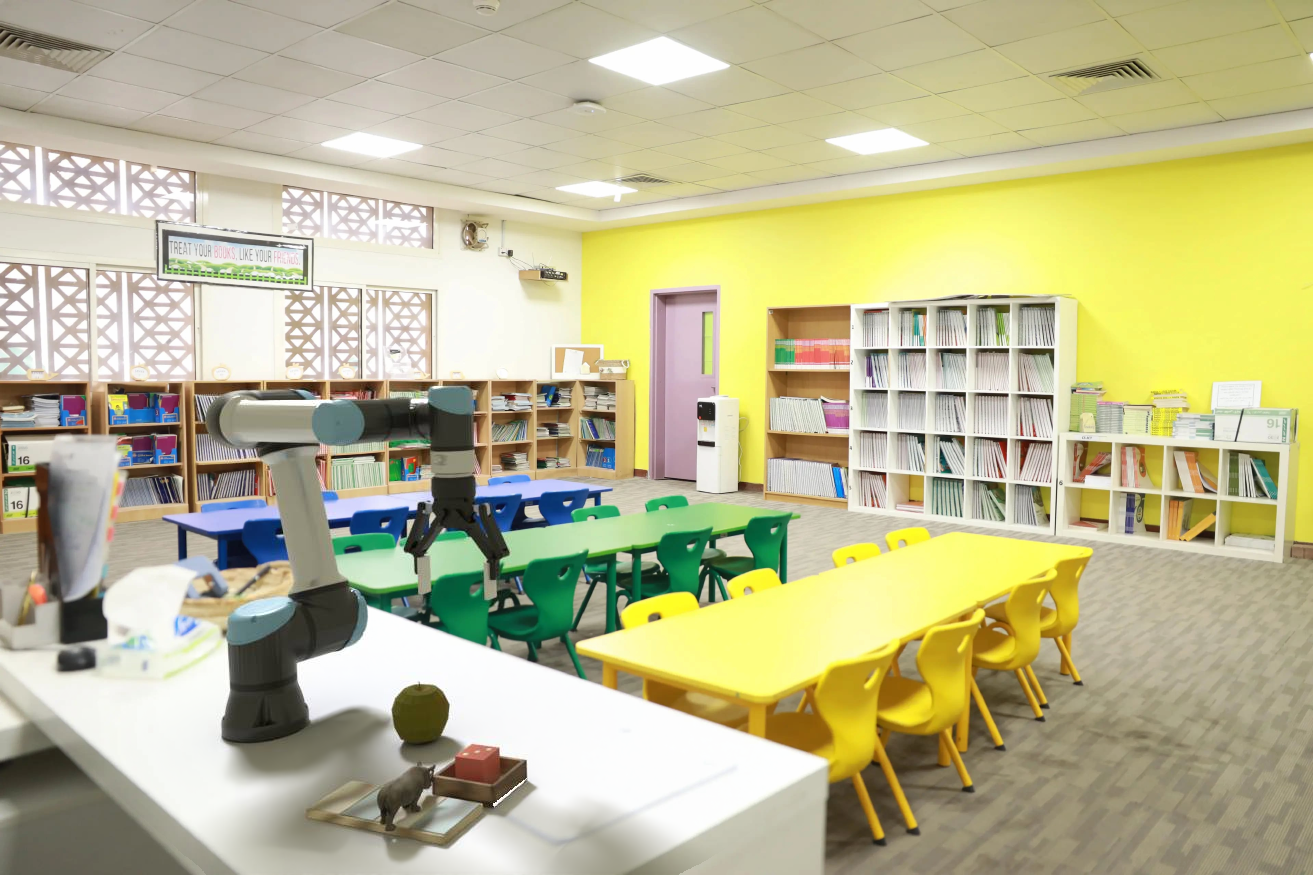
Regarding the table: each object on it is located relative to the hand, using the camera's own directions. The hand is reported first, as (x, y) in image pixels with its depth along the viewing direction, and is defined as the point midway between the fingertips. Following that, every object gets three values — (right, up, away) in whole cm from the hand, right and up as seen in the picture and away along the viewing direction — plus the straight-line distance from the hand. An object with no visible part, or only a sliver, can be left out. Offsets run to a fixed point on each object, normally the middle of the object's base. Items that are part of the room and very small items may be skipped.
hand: (457, 595), depth 155 cm
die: (+7, -27, -16) cm, 32 cm away
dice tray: (+7, -28, -16) cm, 32 cm away
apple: (-7, -27, +4) cm, 28 cm away
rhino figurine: (-1, -27, -25) cm, 37 cm away
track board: (-4, -28, -24) cm, 37 cm away
